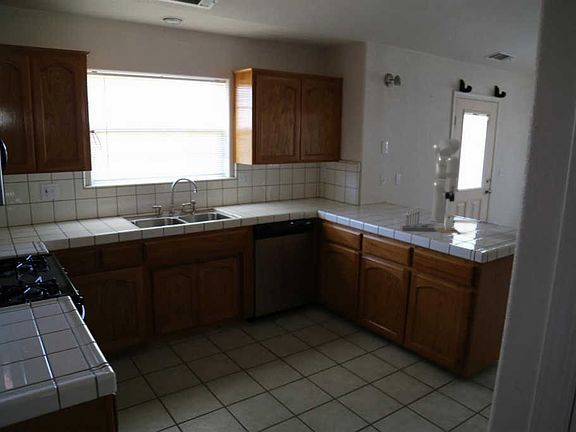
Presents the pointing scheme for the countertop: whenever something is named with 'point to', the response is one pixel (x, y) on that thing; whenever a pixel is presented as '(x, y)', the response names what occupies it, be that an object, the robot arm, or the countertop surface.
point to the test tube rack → (413, 216)
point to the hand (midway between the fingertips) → (449, 200)
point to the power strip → (417, 228)
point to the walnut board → (448, 231)
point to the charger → (448, 223)
